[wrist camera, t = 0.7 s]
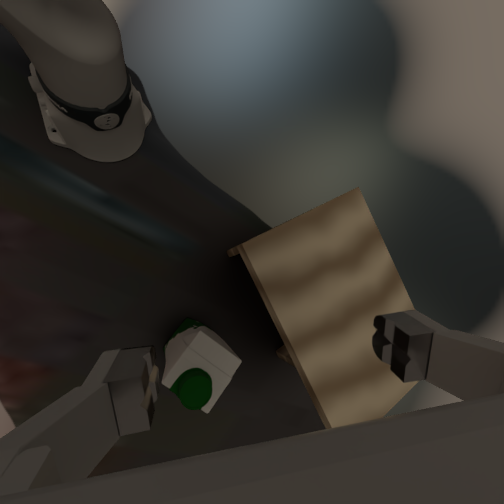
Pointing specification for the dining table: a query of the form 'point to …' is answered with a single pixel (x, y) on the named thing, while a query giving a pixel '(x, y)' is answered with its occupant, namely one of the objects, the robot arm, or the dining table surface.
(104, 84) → the robot arm
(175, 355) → the milk carton
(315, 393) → the wooden shelf
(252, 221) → the dining table surface
